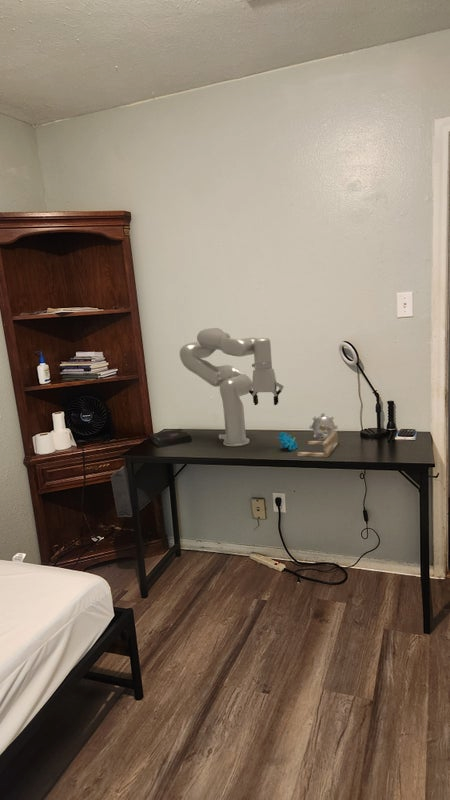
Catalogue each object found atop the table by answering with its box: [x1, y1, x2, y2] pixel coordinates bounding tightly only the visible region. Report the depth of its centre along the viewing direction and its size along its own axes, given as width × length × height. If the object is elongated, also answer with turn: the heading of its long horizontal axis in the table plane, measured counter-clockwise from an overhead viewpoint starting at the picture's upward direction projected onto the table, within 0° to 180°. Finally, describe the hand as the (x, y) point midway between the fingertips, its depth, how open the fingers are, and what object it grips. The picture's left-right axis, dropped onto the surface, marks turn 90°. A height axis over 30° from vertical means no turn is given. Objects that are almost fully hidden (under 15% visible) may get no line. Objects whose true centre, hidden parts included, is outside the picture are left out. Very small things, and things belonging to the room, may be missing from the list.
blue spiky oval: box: [278, 431, 298, 451], centre depth 231 cm, size 11×6×10 cm
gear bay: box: [296, 430, 338, 458], centre depth 225 cm, size 13×20×6 cm, turn 156°
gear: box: [309, 412, 339, 441], centre depth 235 cm, size 12×3×13 cm, turn 66°
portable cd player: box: [149, 428, 193, 448], centre depth 262 cm, size 16×17×4 cm
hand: (266, 404), depth 231 cm, fingers open, 8 cm apart
